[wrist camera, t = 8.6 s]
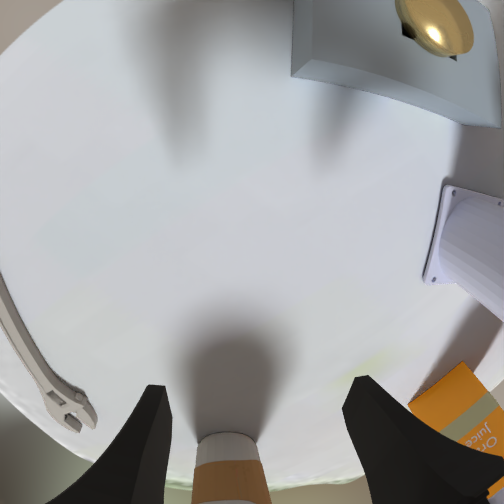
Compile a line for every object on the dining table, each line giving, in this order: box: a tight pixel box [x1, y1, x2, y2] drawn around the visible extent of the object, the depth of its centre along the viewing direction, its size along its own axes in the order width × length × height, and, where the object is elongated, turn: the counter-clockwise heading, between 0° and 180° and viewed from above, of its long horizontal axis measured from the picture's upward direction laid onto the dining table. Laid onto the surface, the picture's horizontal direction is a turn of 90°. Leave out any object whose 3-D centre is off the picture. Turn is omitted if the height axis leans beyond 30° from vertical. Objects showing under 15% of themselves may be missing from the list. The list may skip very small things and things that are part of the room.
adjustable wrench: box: [0, 274, 98, 433], centre depth 18 cm, size 25×6×2 cm, turn 5°
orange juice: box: [408, 361, 504, 499], centre depth 18 cm, size 8×9×20 cm
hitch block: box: [291, 0, 502, 129], centre depth 11 cm, size 14×10×4 cm
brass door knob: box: [395, 0, 474, 57], centre depth 10 cm, size 5×5×6 cm
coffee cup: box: [191, 432, 272, 504], centre depth 19 cm, size 8×8×15 cm
